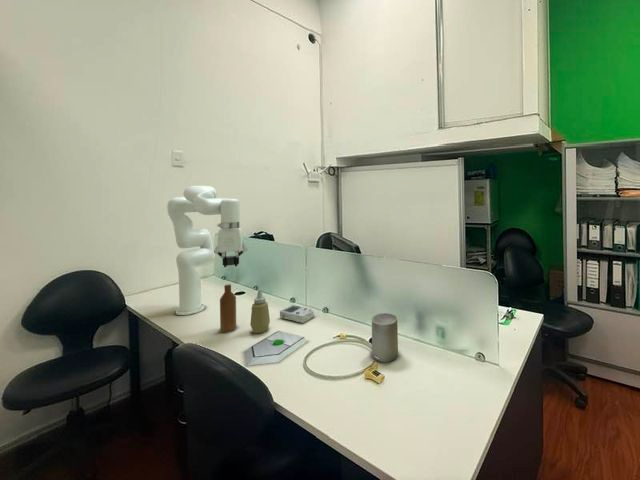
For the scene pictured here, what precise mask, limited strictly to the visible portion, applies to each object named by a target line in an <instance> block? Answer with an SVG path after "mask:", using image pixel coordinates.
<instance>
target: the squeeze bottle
mask: <svg viewBox="0 0 640 480" xmlns="http://www.w3.org/2000/svg"><path fill="white" fill-rule="evenodd" d="M270 323H271V319H270V310H269V302H268V301H267V300H266V297H265V296H264V295H263V291H262V289H258V290H257V295H256V297H255V298H254V299H253V304H252V305H251V313H250V324H249V325H250V328H251V330H252V332H253V333H254V334H261V333H266V331H268V329H269V326H270Z"/></svg>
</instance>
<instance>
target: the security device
mask: <svg viewBox="0 0 640 480" xmlns="http://www.w3.org/2000/svg"><path fill="white" fill-rule="evenodd" d="M306 343H307V340H306V337H305V336H302V335H298V334H293V333H290V332H286V331H281V330H277V331H275V332H274V333H272V334H270V335H269V336H267V337H265V338H264V339H262V340H260V341H258V342H256V343H255V344H253V345H252V346H250V347H249V348H248V349H246V350H245V351H244V354H245V361H246V366H254V365H265V364H272V363H273V364H274V363H279V362H280V361H282V360H283V359H285V358H286V357H288V356H289V355H290V354H292V353H293V352H294V351H296V350H297V349H300V347H301V346H303V345H304V344H306Z"/></svg>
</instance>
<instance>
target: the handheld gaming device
mask: <svg viewBox="0 0 640 480" xmlns="http://www.w3.org/2000/svg"><path fill="white" fill-rule="evenodd" d="M314 316H315V312H314V310H313V309H311V308H308V307H304V306H300V305H295V304H291V305H289V306H288V307H285V308H283V309H281V310H279V317H280V318H281V319H285V320H289V321H294V322H297V323H301V324H303V323H306V322H307V321H309V320H311V319H313V317H314Z"/></svg>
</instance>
